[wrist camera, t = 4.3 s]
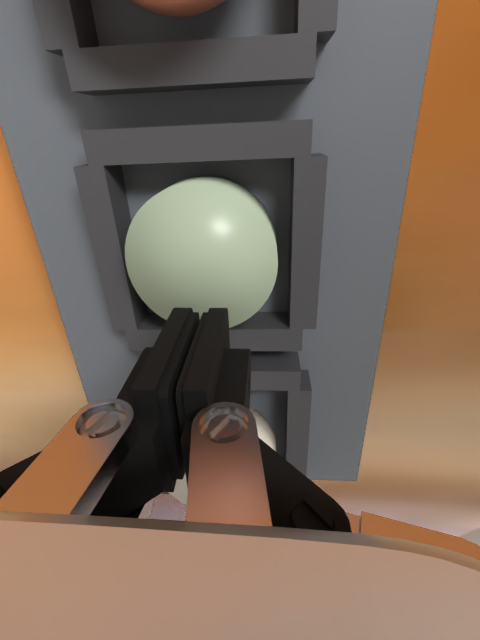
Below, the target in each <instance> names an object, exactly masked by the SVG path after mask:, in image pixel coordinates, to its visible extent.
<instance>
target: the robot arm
mask: <svg viewBox="0 0 480 640" xmlns="http://www.w3.org/2000/svg"><path fill="white" fill-rule="evenodd" d="M250 393H251V353H250V349H236V348H230V338H229V318H228V309H227V308H209V311H208V312H203V313H202V316H201V319H200V317H199V313H198V312H193V309H192V308H173V310H172V311H171V313H170V315H169V317H168V319H167V321H166V323H165V325H164V327H163V328H162V330H161V332H160V334H159V336H158V338H157V340H156V342H155V344H154V345H153V347H146V348H145V349H144V350H143V352H142V353H141V355H140V357H139V359H138V360H137V362H136V364H135V366H134V368H133V369H132V371H131V373H130V375H129V376H128V378H127V380H126V382H125V383H124V385H123V387H122V389H121V391H120V392H119V394H118V396H117V398H116V399H103V400H99V401H96V402H93V403H90V404H89V405H87V406H85V407H83V408H82V409H80V410H79V411H78V412H77V413H76V414H75V415H74V416H73V417H72V418H71V419H70V420H69V422H68V423H67V424H66V425H65V426H64V427H63V428H62V429H61V431H60V432H59V433H58V434H57V435H56V436H55V437H54V439H53V440H52V441H51V442H50V443H49V444H48V445H47V446H46V448H45V449H44V450H43V451H41V452H39V453H37V454H35V455H33V456H31V457H29V458H27V459H25V460H23V461H21V462H19V463H17V464H15V465H13V466H11V467H9V468H7V469H5V470H3V471H1V472H0V640H480V547H479V546H478V545H476V544H474V543H472V542H469V541H467V540H465V539H463V538H459V537H456V536H452V535H448V534H444V533H441V532H437V531H433V530H430V529H426V528H422V527H418V526H415V525H411V524H407V523H403V522H400V521H396V520H392V519H388V518H385V517H381V516H377V515H374V514H370V513H366V512H361V517H360V516H357V515H353V514H349V513H346V512H345V511H344V510H343V509H342V507H341V506H340V505H339V504H338V503H337V502H336V501H335V500H334V499H333V498H331V497H330V496H329V495H328V494H326V493H325V492H324V491H323V490H322V489H320V488H319V487H318V486H317V485H316V484H314V483H313V482H312V481H311V480H310V479H308V478H307V477H306V476H305V475H304V474H302V473H301V472H300V471H299V470H297V469H296V468H295V467H294V466H293V465H291V464H290V463H289V462H288V461H287V460H285V459H284V458H283V457H282V456H281V455H279V454H278V453H277V452H276V451H275V450H273V449H272V448H271V447H270V446H269V445H267V444H266V443H265V442H264V441H262V440H261V439H260V438H259V437H258V432H257V425H256V420H255V418H254V415H253V413H252V412H251V411H250V410H249V407H250ZM185 474H186V481H187V487H188V494H187V511H186V521H175V520H159V519H148V518H149V516H150V514H151V512H152V508H153V505H154V500H153V498H154V497H156V496H157V495H159V494H160V493H162V492H174V488H175V484H176V481H177V479H181V480H182V479H183V478H184V475H185Z"/></svg>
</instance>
